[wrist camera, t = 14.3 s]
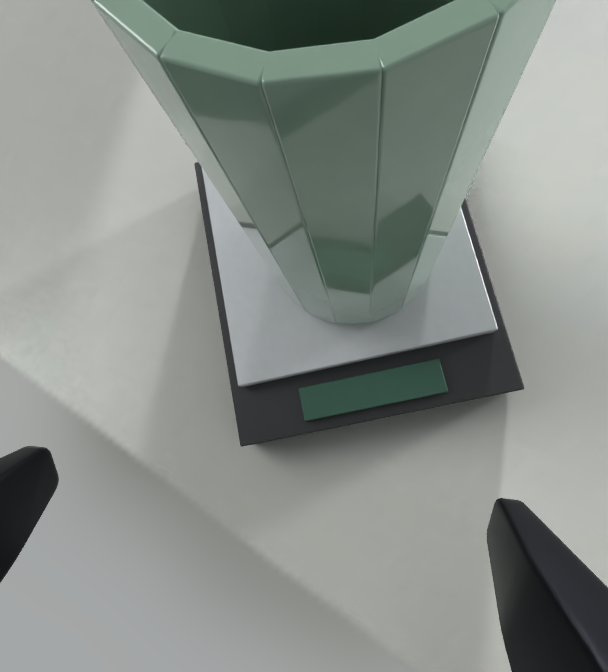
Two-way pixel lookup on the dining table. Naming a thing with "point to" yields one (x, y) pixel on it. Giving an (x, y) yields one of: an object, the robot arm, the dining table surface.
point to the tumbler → (336, 125)
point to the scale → (352, 339)
